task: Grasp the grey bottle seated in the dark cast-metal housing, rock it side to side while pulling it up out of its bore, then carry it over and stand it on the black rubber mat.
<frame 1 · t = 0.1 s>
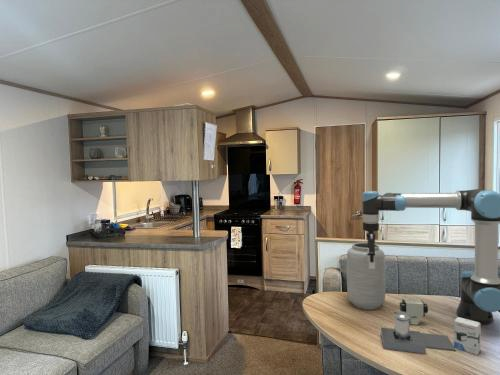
hand: (371, 264, 165), 28 cm above the table, fingers open, 13 cm apart
mat: (435, 342, 143), on the table
grey bottle: (402, 329, 142), in the housing
housing: (402, 343, 142), on the table
vase: (366, 304, 184), on the table
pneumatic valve: (413, 323, 161), on the table
ink box: (467, 349, 137), on the table
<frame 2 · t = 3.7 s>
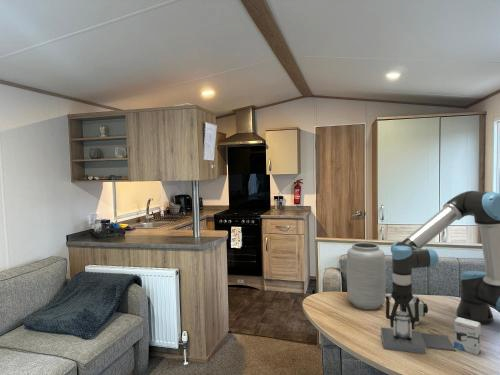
hand: (402, 335, 142), 4 cm above the table, fingers closed on grey bottle, 6 cm apart
grey bottle: (402, 329, 142), in the housing, touching gripper
everything else where it was.
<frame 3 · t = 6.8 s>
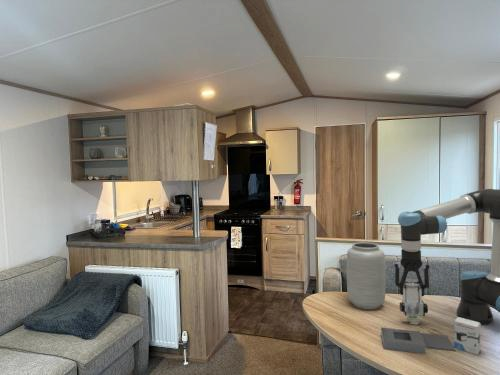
hand: (412, 302, 142), 18 cm above the table, fingers closed on grey bottle, 6 cm apart
grey bottle: (411, 296, 142), point 21 cm above the table, touching gripper
everything else where it was.
when the fingers open (5 cm above the table, at t = 10.2 s): grey bottle stays where it is, resting on mat.
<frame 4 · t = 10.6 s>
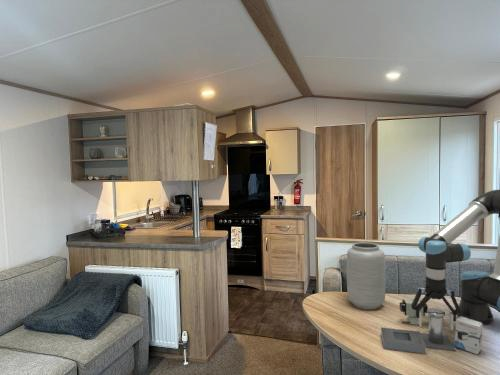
hand: (435, 326, 143), 7 cm above the table, fingers open, 11 cm apart
grey bottle: (435, 326, 143), on the mat, point 7 cm above the table
ink box: (467, 348, 137), on the table, touching gripper
everything else where it was.
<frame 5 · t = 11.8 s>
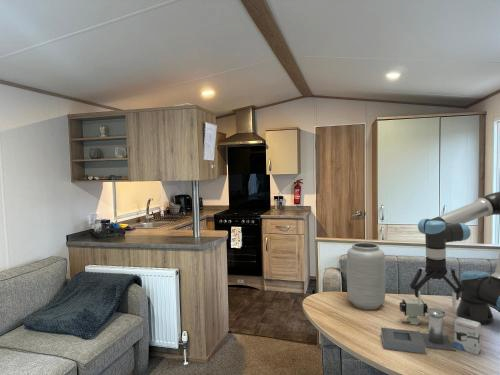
hand: (436, 305, 142), 16 cm above the table, fingers open, 13 cm apart
ink box: (467, 349, 137), on the table
everything else where it was.
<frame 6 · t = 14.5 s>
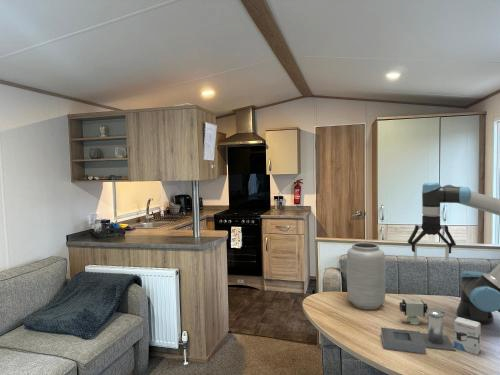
hand: (431, 259, 158), 32 cm above the table, fingers open, 13 cm apart
nothing on the table moved.
at the end: grey bottle inside the target area on the mat (0.1 cm from its centre), point 7.1 cm above the mat's base; grey bottle tilted 1°; the gripper is holding nothing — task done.
